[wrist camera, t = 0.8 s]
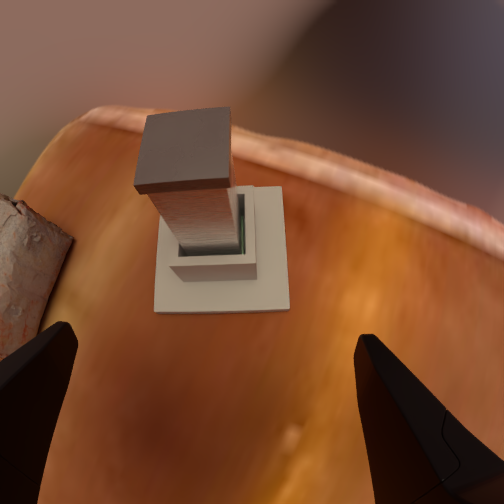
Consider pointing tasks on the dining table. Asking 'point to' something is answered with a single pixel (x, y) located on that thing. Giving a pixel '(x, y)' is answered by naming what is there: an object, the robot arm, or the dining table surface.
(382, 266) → the dining table surface
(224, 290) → the stand base
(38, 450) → the robot arm
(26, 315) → the food item
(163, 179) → the column
